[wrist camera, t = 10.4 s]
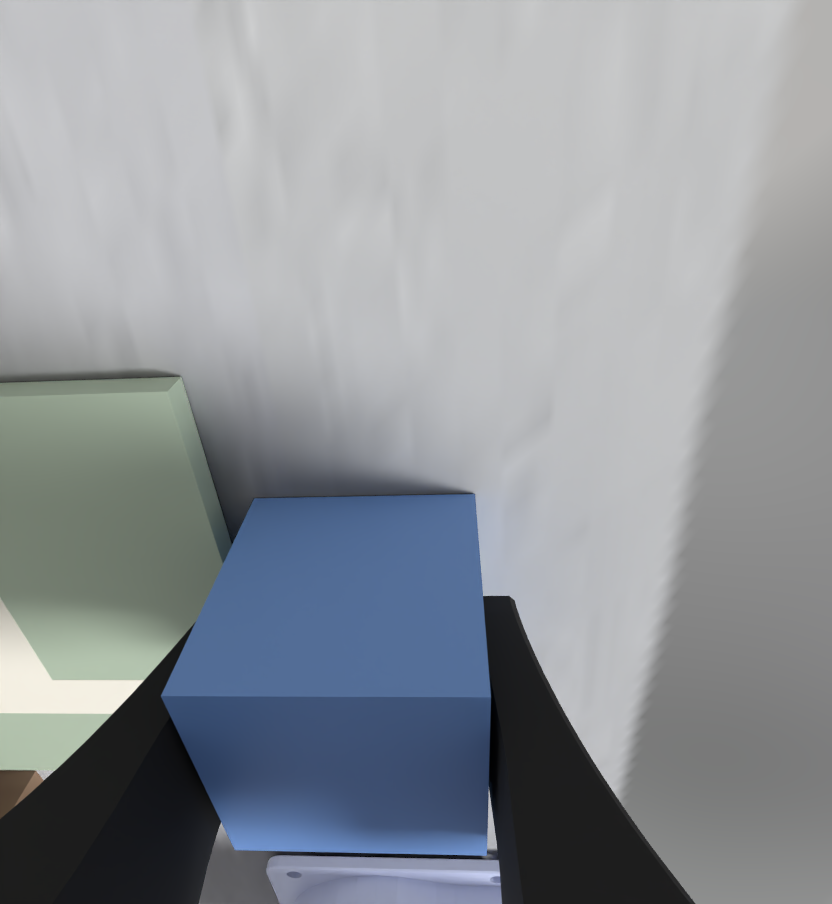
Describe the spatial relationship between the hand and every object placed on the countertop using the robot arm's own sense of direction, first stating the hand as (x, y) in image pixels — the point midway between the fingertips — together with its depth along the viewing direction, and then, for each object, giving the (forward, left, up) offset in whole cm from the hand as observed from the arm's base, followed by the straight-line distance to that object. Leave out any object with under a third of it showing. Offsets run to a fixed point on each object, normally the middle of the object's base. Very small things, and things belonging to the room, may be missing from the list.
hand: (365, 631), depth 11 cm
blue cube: (0, 0, -2) cm, 2 cm away
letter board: (+9, +1, -2) cm, 9 cm away
